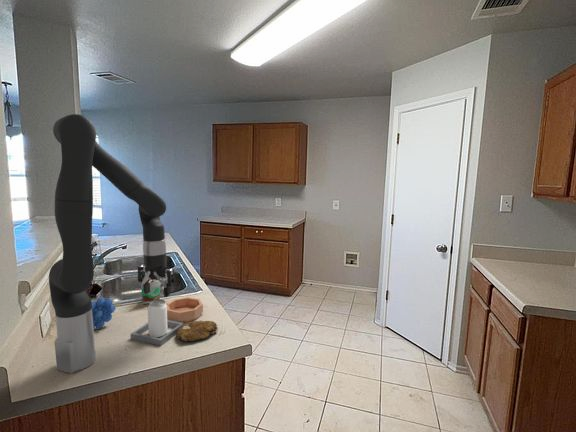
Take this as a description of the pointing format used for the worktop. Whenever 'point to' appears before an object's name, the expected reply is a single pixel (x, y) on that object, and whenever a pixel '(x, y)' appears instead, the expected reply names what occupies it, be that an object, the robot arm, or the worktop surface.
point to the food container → (151, 292)
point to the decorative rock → (196, 330)
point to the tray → (153, 340)
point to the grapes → (102, 312)
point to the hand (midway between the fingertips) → (157, 294)
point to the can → (157, 318)
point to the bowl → (184, 309)
